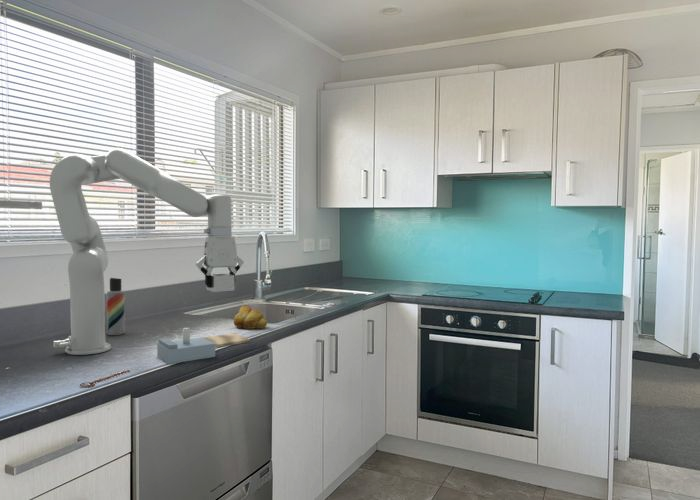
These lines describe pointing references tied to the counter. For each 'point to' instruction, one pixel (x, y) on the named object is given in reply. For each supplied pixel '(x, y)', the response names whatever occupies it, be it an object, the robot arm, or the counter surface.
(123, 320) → the lotion bottle
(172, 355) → the vise block
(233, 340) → the cork mat
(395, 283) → the counter surface
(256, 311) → the bread roll
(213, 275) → the grey block with hole
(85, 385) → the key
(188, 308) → the counter surface
